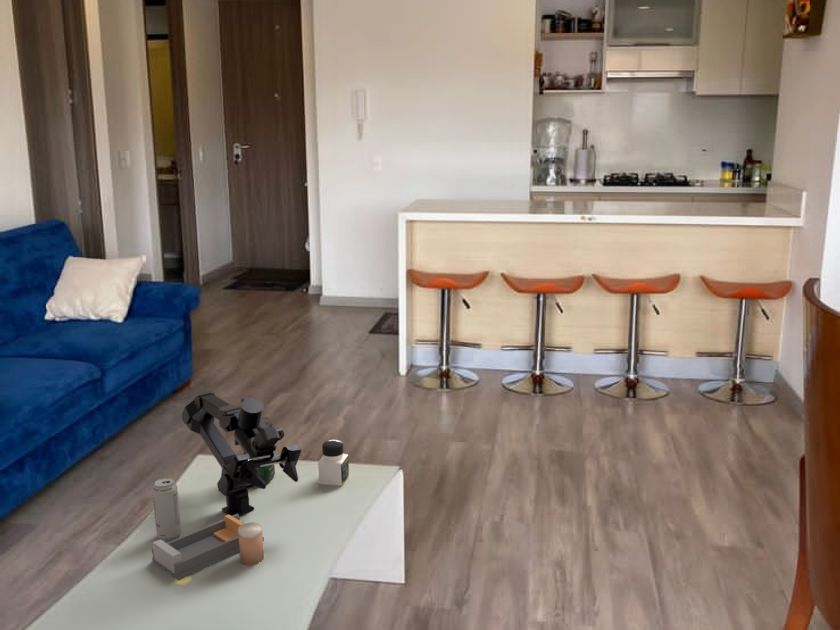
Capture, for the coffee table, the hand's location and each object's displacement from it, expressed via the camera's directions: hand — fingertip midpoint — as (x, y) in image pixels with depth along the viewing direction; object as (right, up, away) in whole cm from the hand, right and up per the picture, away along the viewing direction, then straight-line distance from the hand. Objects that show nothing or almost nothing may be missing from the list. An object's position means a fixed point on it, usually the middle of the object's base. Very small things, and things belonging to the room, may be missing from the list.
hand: (281, 484), depth 194 cm
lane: (-18, -17, +3) cm, 25 cm away
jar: (-7, -18, -1) cm, 19 cm away
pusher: (-14, -15, +7) cm, 21 cm away
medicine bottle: (+8, -8, +41) cm, 43 cm away
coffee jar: (-13, -8, +43) cm, 45 cm away
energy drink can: (-30, -16, +10) cm, 36 cm away
